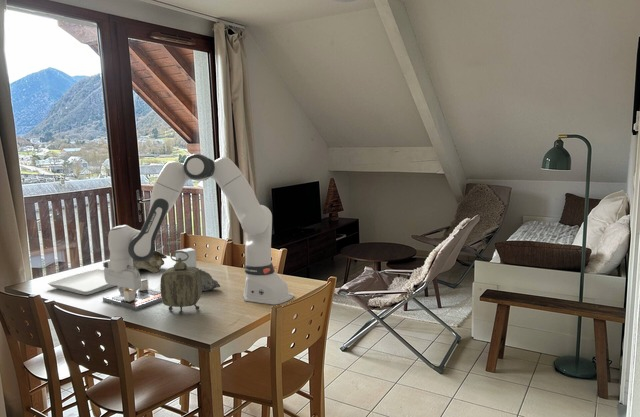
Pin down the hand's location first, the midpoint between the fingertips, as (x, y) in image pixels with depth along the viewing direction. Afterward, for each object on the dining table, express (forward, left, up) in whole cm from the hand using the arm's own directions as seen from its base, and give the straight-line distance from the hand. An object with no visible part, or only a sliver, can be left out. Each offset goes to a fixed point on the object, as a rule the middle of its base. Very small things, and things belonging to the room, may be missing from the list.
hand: (124, 296), depth 202 cm
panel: (-1, -6, -3) cm, 7 cm away
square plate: (+35, -8, -4) cm, 36 cm away
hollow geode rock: (+40, -39, -3) cm, 56 cm away
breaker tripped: (-4, 0, -1) cm, 4 cm away
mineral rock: (-16, -29, -3) cm, 33 cm away
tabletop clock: (-30, -5, -3) cm, 30 cm away
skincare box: (+4, -38, -3) cm, 38 cm away
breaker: (+3, -12, -1) cm, 12 cm away
